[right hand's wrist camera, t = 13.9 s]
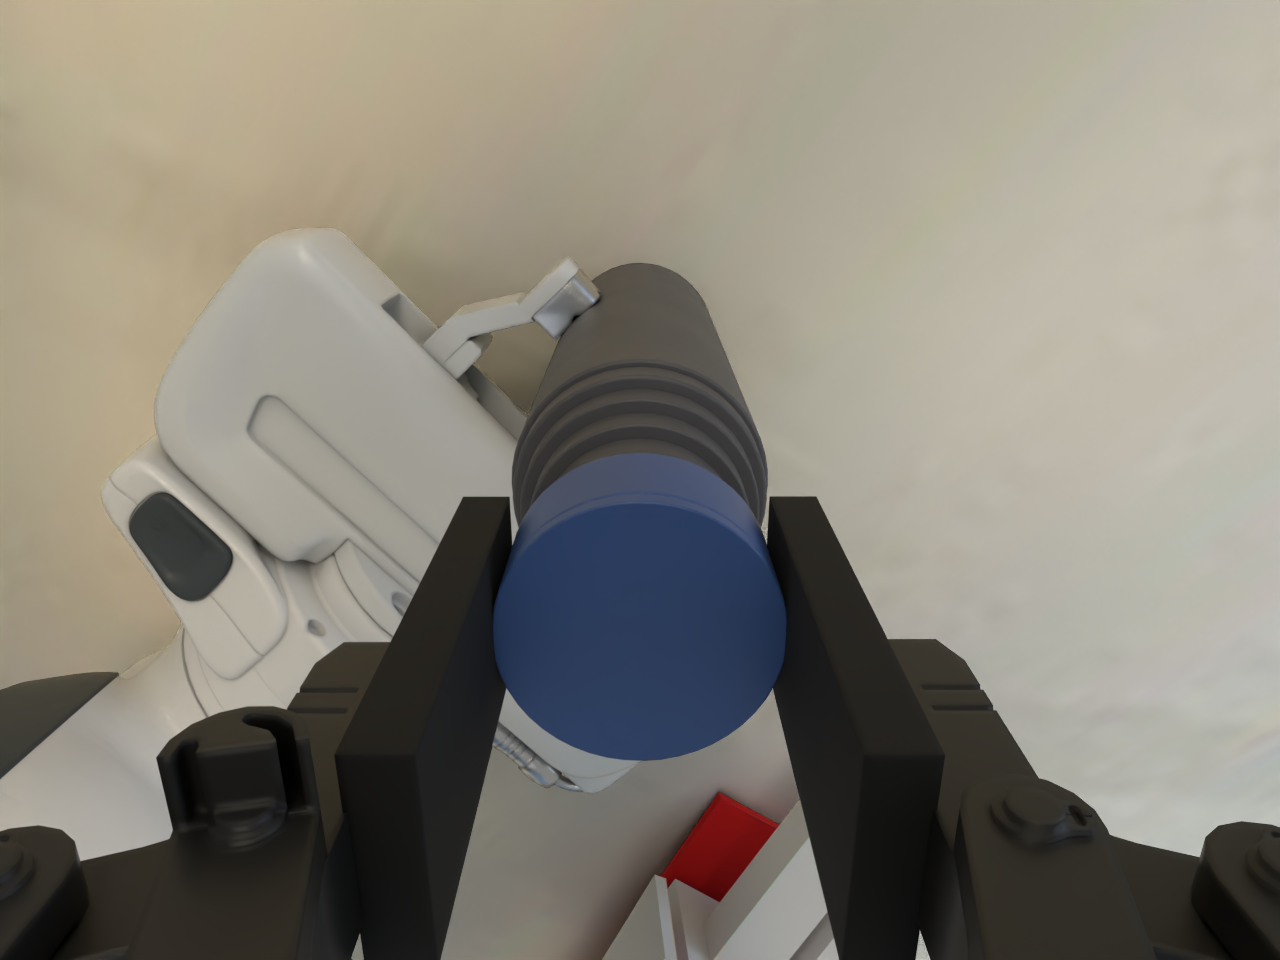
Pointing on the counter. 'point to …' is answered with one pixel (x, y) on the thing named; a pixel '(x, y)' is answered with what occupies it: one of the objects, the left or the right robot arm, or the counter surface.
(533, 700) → the cap
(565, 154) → the counter surface
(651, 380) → the bottle
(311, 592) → the left robot arm
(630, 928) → the toy
